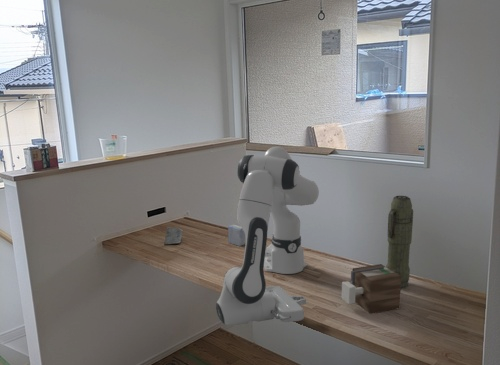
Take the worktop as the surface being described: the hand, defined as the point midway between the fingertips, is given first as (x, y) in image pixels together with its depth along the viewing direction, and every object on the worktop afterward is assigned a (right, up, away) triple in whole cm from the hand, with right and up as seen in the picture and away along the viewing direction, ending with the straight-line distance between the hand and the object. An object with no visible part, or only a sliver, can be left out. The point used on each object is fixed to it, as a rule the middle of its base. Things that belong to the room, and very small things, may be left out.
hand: (304, 299), depth 161 cm
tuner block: (+26, -4, +10) cm, 29 cm away
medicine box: (-25, +9, +76) cm, 80 cm away
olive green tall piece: (+39, -1, +27) cm, 48 cm away
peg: (+22, -1, +8) cm, 24 cm away
